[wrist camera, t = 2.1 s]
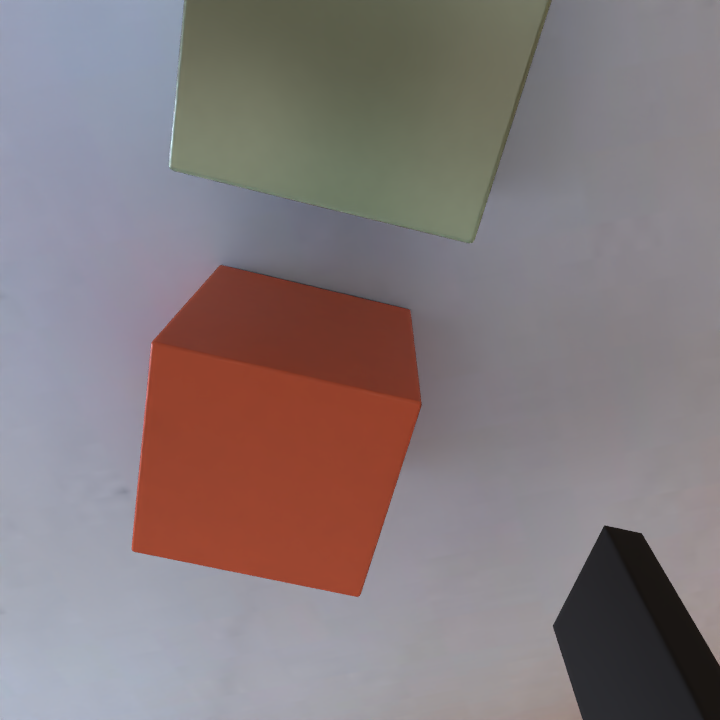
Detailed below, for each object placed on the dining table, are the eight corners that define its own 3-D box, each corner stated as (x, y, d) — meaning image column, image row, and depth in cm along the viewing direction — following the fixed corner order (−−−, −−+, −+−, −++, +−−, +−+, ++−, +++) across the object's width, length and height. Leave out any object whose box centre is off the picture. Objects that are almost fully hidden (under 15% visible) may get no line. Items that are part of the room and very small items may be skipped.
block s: (219, 263, 15) (150, 341, 11) (411, 309, 16) (422, 403, 11) (196, 428, 17) (129, 552, 13) (365, 465, 18) (360, 598, 13)
